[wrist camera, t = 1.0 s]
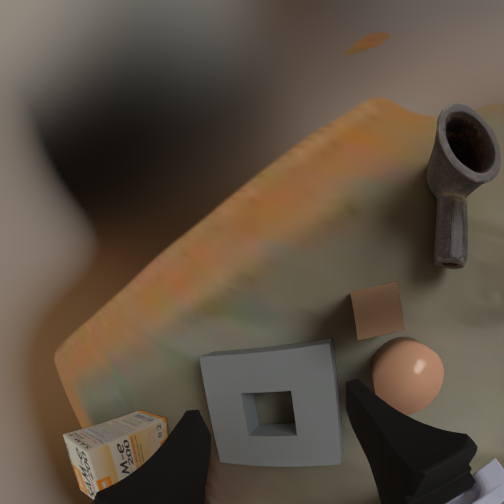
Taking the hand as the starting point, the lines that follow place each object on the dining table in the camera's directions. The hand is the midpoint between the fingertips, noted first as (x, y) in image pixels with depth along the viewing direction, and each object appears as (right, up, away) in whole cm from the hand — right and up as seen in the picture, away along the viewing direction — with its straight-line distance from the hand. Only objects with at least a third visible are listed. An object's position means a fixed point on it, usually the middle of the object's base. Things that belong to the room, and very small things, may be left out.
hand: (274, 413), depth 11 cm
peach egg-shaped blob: (+12, -3, +9) cm, 16 cm away
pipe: (+18, +12, +10) cm, 24 cm away
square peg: (+10, +3, +11) cm, 15 cm away
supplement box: (-13, -17, +17) cm, 27 cm away
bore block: (+1, -7, +12) cm, 14 cm away
